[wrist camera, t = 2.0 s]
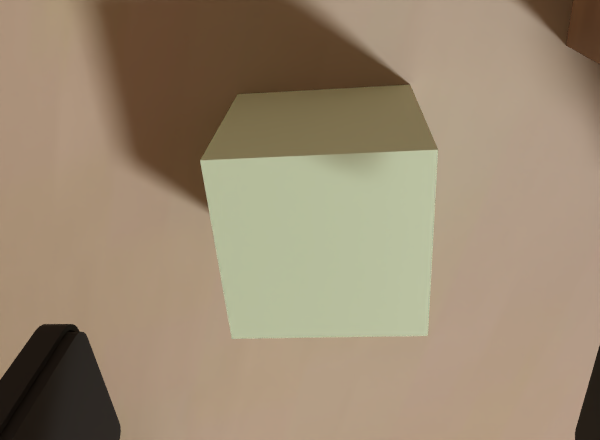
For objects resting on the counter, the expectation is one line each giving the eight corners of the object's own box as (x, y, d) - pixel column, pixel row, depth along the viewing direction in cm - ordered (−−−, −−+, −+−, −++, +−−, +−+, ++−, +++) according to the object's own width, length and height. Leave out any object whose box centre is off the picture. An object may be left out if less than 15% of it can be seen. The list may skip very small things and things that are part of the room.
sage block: (405, 233, 21) (427, 335, 16) (257, 238, 22) (231, 338, 17) (409, 83, 18) (437, 149, 13) (238, 93, 19) (199, 160, 14)
